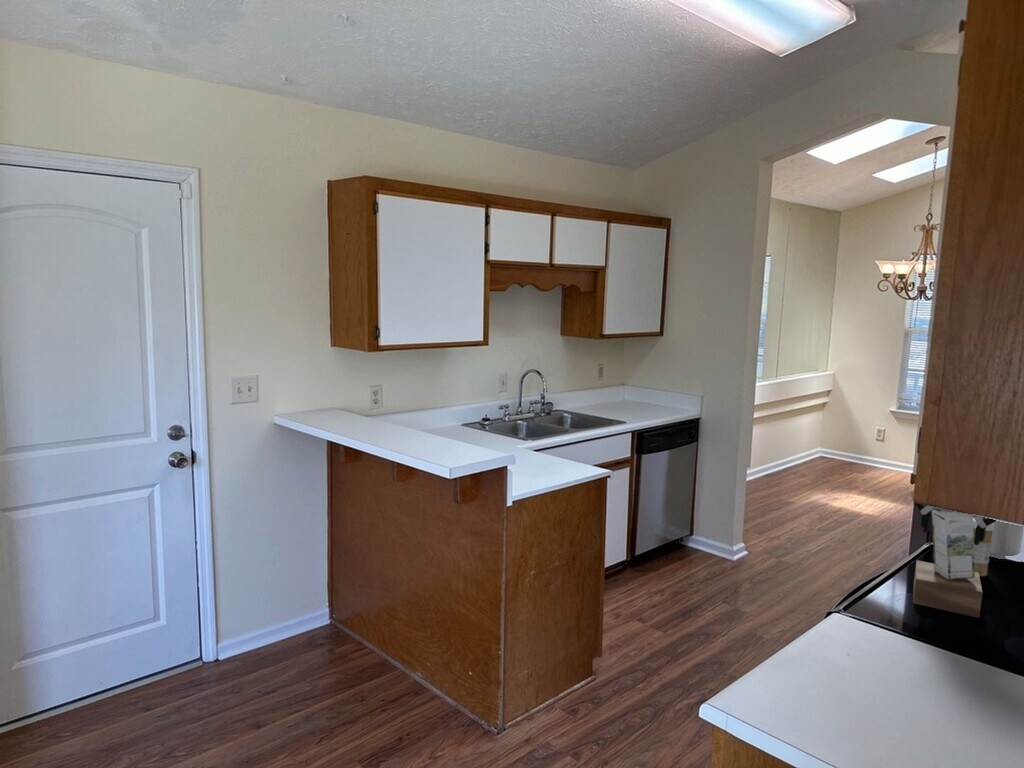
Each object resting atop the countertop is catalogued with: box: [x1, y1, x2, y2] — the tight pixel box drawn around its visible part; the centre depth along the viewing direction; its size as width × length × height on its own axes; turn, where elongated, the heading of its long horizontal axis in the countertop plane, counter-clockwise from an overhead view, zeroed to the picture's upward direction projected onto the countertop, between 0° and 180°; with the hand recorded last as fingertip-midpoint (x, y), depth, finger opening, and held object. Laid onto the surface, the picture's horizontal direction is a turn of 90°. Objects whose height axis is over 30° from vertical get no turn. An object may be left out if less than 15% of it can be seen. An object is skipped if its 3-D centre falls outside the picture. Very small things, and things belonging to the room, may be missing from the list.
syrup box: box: [931, 509, 975, 580], centre depth 149 cm, size 6×6×14 cm
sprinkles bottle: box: [973, 518, 994, 577], centre depth 165 cm, size 5×5×13 cm
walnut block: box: [912, 559, 983, 619], centre depth 151 cm, size 12×12×6 cm
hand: (951, 536), depth 150 cm, fingers open, 9 cm apart
